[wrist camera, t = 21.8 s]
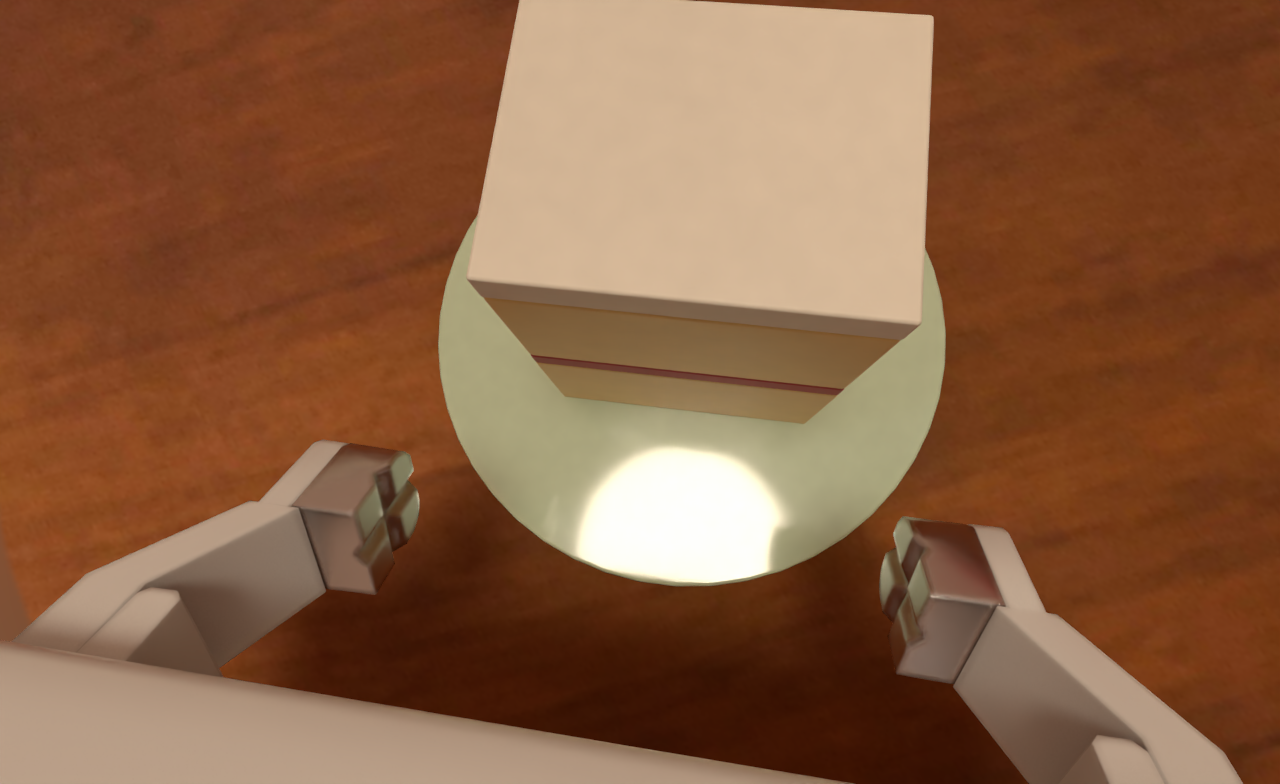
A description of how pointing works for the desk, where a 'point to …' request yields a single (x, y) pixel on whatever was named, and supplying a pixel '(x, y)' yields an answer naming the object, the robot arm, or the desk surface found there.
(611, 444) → the plate
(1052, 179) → the desk surface
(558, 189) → the cake slice
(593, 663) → the desk surface
